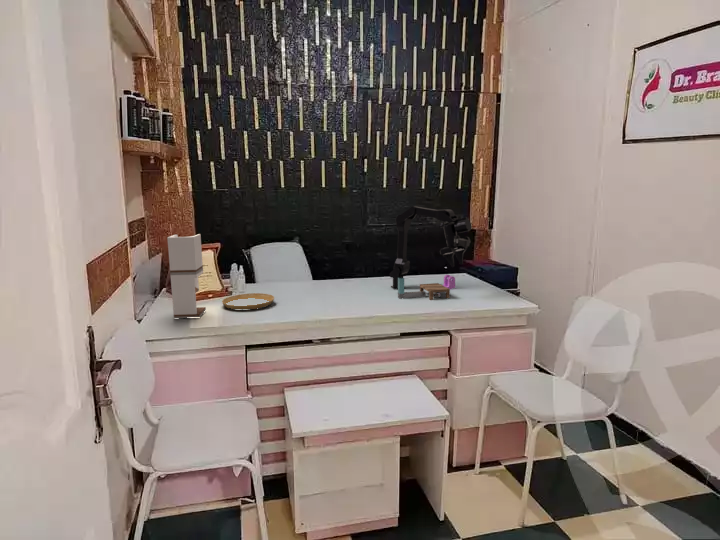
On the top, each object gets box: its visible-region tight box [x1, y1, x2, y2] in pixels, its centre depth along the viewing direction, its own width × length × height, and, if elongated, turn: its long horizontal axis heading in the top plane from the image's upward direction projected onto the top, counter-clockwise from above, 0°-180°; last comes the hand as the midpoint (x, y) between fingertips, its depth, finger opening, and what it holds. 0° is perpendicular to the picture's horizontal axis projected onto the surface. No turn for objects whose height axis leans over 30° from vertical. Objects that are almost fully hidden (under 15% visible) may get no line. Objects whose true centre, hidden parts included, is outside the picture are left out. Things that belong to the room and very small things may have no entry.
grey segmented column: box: [166, 233, 206, 319], centre depth 209 cm, size 11×11×35 cm
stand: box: [419, 282, 451, 301], centre depth 243 cm, size 15×10×5 cm, turn 13°
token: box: [433, 292, 441, 298], centre depth 244 cm, size 5×5×1 cm
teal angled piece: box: [397, 277, 427, 300], centre depth 240 cm, size 2×14×10 cm, turn 103°
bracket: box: [442, 274, 456, 290], centre depth 259 cm, size 13×6×7 cm, turn 111°
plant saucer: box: [221, 292, 275, 310], centre depth 229 cm, size 24×24×3 cm
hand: (457, 265), depth 240 cm, fingers open, 9 cm apart
